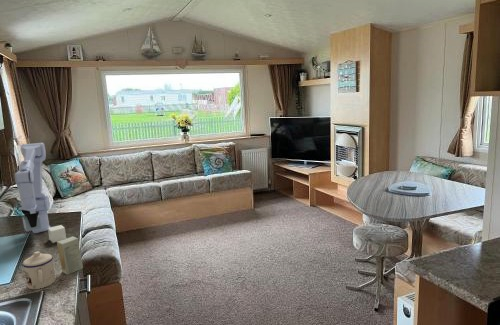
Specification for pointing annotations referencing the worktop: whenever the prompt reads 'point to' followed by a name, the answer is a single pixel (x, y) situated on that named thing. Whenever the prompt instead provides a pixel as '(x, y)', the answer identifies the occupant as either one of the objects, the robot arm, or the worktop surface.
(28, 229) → the cover
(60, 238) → the cover
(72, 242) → the skincare box
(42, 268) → the teacup with lid
